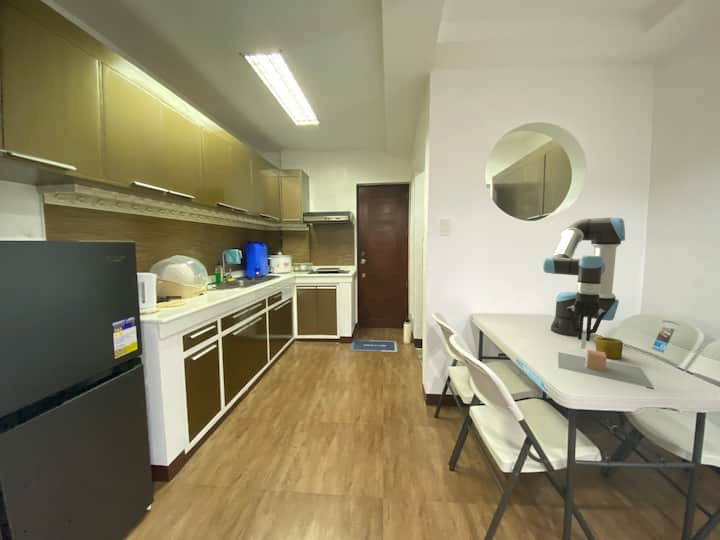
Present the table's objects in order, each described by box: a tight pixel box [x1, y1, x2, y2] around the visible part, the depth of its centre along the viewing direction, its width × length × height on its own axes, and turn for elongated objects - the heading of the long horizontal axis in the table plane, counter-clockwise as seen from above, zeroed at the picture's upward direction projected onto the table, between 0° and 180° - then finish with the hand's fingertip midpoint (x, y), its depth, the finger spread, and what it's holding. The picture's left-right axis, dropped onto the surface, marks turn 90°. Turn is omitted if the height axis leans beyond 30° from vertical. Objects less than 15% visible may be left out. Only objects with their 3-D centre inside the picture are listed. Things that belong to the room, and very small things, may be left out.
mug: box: [593, 336, 624, 360], centre depth 130 cm, size 12×10×10 cm
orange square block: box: [585, 348, 608, 371], centre depth 117 cm, size 6×6×6 cm
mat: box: [557, 351, 654, 390], centre depth 117 cm, size 20×28×1 cm
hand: (582, 347), depth 120 cm, fingers closed
